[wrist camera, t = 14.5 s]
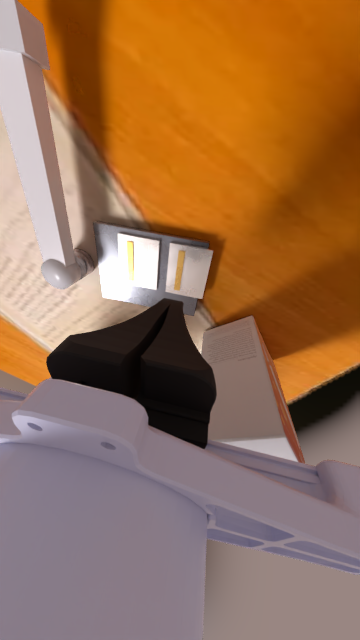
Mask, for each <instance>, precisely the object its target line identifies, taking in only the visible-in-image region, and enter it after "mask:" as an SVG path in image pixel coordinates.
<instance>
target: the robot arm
mask: <svg viewBox="0 0 360 640" xmlns="http://www.w3.org/2000/svg"><path fill="white" fill-rule="evenodd" d="M183 305H184V303H183V302H182V301H177V300H172V299H168V298H163V299H162V300H160V301H159V302H158V303H156V304H155V305H153V306H152V307H150V308H149V309H147V310H146V311H144V312H143V313H141V314H139V315H138V316H136V317H134V318H132V319H129V320H127V321H125V322H122V323H120V324H117V325H114V326H111V327H108V328H104V329H101V330H96V331H92V332H87V333H81V334H75V335H70V336H69V337H67V338H66V339H65V340H64V341H63V342H62V343H61V344H60V345H59V346H58V347H57V348H56V349H55V350H54V351H53V352H52V353H51V354H50V355H49V356H48V357H47V361H46V363H47V367H48V370H49V373H50V375H51V377H50V378H49V379H46V380H44V381H43V382H41V383H39V384H38V385H37V387H36V388H35V389H34V390H33V391H32V392H31V393H30V394H25V393H21V392H17V391H14V390H9V389H6V388H1V387H0V640H203V618H204V594H205V568H206V567H205V566H206V541H207V539H210V540H214V541H219V542H224V543H227V544H232V545H236V546H241V547H245V548H250V549H254V550H258V551H263V552H267V553H272V554H276V555H280V556H285V557H289V558H293V559H298V560H302V561H306V562H310V563H313V564H317V565H321V566H325V567H329V568H333V569H336V570H340V571H343V572H347V573H351V574H354V575H360V467H359V466H355V465H351V464H347V463H343V462H339V461H335V460H324V461H322V462H320V463H319V464H318V465H317V466H312V465H308V464H304V463H300V462H296V461H292V460H288V459H284V458H280V457H276V456H272V455H268V454H264V453H260V452H256V451H252V450H248V449H244V448H240V447H236V446H232V445H228V444H224V443H220V442H216V441H212V440H208V424H209V423H210V412H211V410H212V407H213V405H214V403H215V401H216V396H217V390H216V382H215V377H214V373H213V369H212V367H211V366H210V365H209V364H208V363H207V362H206V360H205V359H204V358H203V357H202V355H201V354H200V353H199V351H198V349H197V348H196V346H195V345H194V343H193V341H192V339H191V337H190V335H189V332H188V329H187V326H186V323H185V319H184V314H183Z"/></svg>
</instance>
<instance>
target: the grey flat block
mask: <svg viewBox="0 0 360 640" xmlns="http://www.w3.org/2000/svg"><path fill="white" fill-rule="evenodd" d="M93 225H94V233H95V240H96V248H97V256H98V264H99V271H100V279H101V287H102V294H103V297H105V298H110V299H115V300H119V301H124V302H129V303H134V304H139V305H143V306H148V307H152V306H153V305H155V304H156V303H158V302H159V301H160V300H162V299H163V298H168V299H172V300H177V301H182V302H183V303H184V305H183V314H187V315H191V316H194V313H195V308H196V303H197V298H199V299H202V298H203V294H204V289H205V285H206V281H207V276H208V272H209V267H210V263H211V259H212V254H213V250H210V249H208V247H209V242H210V241H204V240H199V239H193V238H188V237H182V236H177V235H171V234H166V233H160V232H154V231H149V230H143V229H138V228H132V227H127V226H121V225H116V224H110V223H105V222H99V221H97V222H93ZM73 251H74V257H75V261H76V263H77V264H78V265H79V267H80V269H81V278H80V279H82V278H83V277H85V276H86V275H88V274H90V273H91V272H92V271H93V268H94V264H93V261H92V259H91V257H90V256H89V255H88V254H87V253H86V252H85V251H83V250H80V249H75V250H73Z"/></svg>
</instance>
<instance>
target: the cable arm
mask: <svg viewBox="0 0 360 640" xmlns="http://www.w3.org/2000/svg"><path fill="white" fill-rule="evenodd" d="M42 69H47V70H50V66H49V60H48V54H47V48H46V41H45V35H44V29H43V24H42V23H41V22H40V21H38V20H37V19H36V18H35V17H34V16H33V15H32V14H31V13H30V12H29V11H28V10H27V9H26V8H25V7H24V6H22V5H21V4H20V3H19V2H18V1H17V0H0V108H1V111H2V115H3V118H4V122H5V125H6V129H7V133H8V136H9V140H10V143H11V147H12V151H13V154H14V158H15V161H16V165H17V169H18V172H19V176H20V179H21V183H22V187H23V190H24V194H25V197H26V201H27V205H28V208H29V212H30V215H31V219H32V223H33V226H34V230H35V233H36V237H37V241H38V244H39V248H40V251H41V255H42V259H43V262H44V263H43V264H42V266H41V271H42V274H43V276H44V278H45V280H46V281H47V282H48V283H49V284H50V285H52V286H53V287H55V288H58V289H66V288H68V287H69V286H71V285H72V284H74V283H75V282H77V281H78V280H80V278H81V269H80V267H79V265H78V264H77V263H76V261H75V257H74V251H73V245H72V239H71V234H70V228H69V222H68V217H67V211H66V205H65V199H64V194H63V188H62V182H61V177H60V171H59V165H58V159H57V154H56V148H55V142H54V137H53V131H52V125H51V119H50V114H49V108H48V102H47V97H46V91H45V85H44V79H43V74H42Z"/></svg>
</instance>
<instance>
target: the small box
mask: <svg viewBox="0 0 360 640" xmlns="http://www.w3.org/2000/svg"><path fill="white" fill-rule="evenodd" d="M201 355H202V357H203V358H204V359H205V360H206V362H207V363H208V364H209V365H210V366H211V367H212V369H213V373H214V377H215V382H216V390H217V396H216V401H215V403H214V405H213V407H212V410H211V412H210V423H209V424H208V440H212V441H216V442H220V443H224V444H228V445H232V446H236V447H240V448H244V449H248V450H252V451H256V452H260V453H264V454H268V455H272V456H276V457H280V458H284V459H288V460H292V461H296V462H300V463H304V464H305V461H304V458H303V455H302V451H301V448H300V445H299V442H298V439H297V436H296V432H295V429H294V426H293V423H292V420H291V416H290V413H289V411H288V407H287V404H286V401H285V398H284V394H283V391H282V388H281V385H280V381H279V378H278V374H277V371H276V368H275V365H274V362H273V360H272V358H271V356H270V354H269V352H268V350H267V347H266V345H265V343H264V341H263V338H262V336H261V334H260V331H259V329H258V326H257V324H256V322H255V319H254V317H253V316H249V317H246V318H243V319H240V320H237V321H234V322H231V323H228V324H225V325H222V326H219V327H216V328H213V329H210V330H207V331H205V332H204V334H203V344H202V353H201Z"/></svg>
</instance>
